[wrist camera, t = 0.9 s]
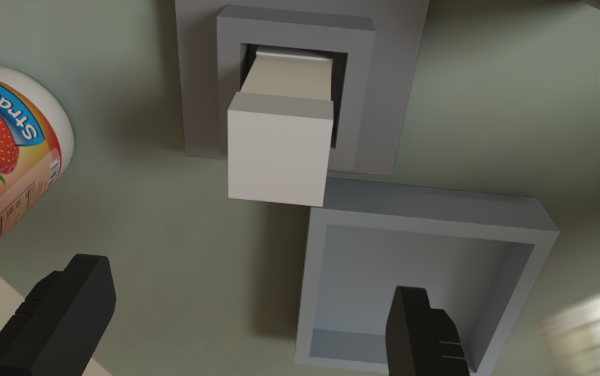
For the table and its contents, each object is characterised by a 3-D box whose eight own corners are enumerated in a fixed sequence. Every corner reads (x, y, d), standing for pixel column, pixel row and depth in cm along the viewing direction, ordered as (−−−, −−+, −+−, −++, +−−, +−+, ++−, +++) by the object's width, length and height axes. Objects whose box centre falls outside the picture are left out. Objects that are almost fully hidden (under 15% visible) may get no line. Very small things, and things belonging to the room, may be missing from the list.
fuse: (333, 48, 26) (333, 120, 18) (325, 115, 29) (322, 206, 20) (261, 42, 27) (227, 109, 18) (259, 109, 29) (228, 197, 20)
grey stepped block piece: (427, -22, 26) (445, -6, 22) (388, 161, 32) (396, 201, 28) (182, -45, 26) (153, -33, 22) (192, 142, 33) (172, 179, 28)
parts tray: (537, 198, 33) (560, 231, 30) (473, 344, 42) (486, 383, 39) (313, 176, 34) (311, 207, 30) (297, 326, 42) (294, 364, 39)
